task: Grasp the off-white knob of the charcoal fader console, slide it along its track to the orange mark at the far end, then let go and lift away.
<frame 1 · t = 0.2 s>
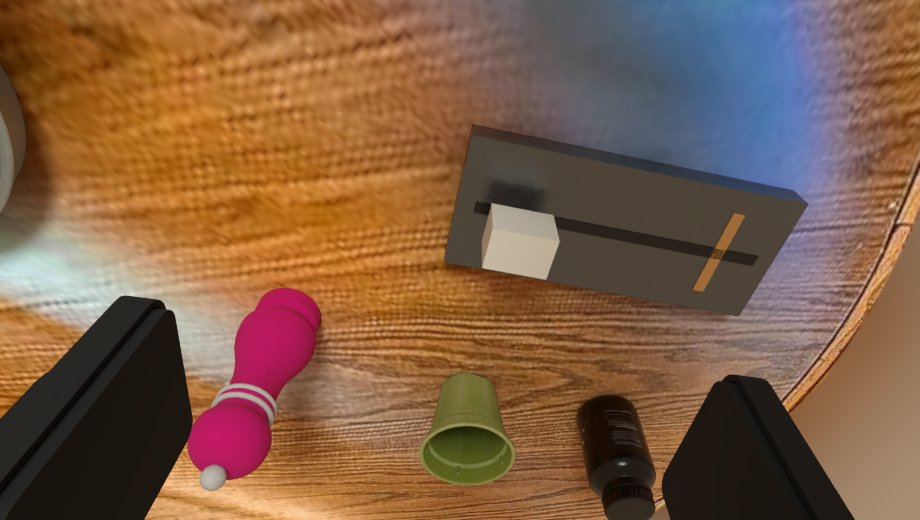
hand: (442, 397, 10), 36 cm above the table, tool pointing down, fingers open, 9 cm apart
fader console: (612, 220, 49), on the table
plant pot: (468, 389, 61), on the table
supplement bottle: (605, 412, 62), on the table
pepper mill: (290, 310, 56), on the table
fader knob: (517, 235, 43), point 6 cm above the table, slide at -9.0 cm
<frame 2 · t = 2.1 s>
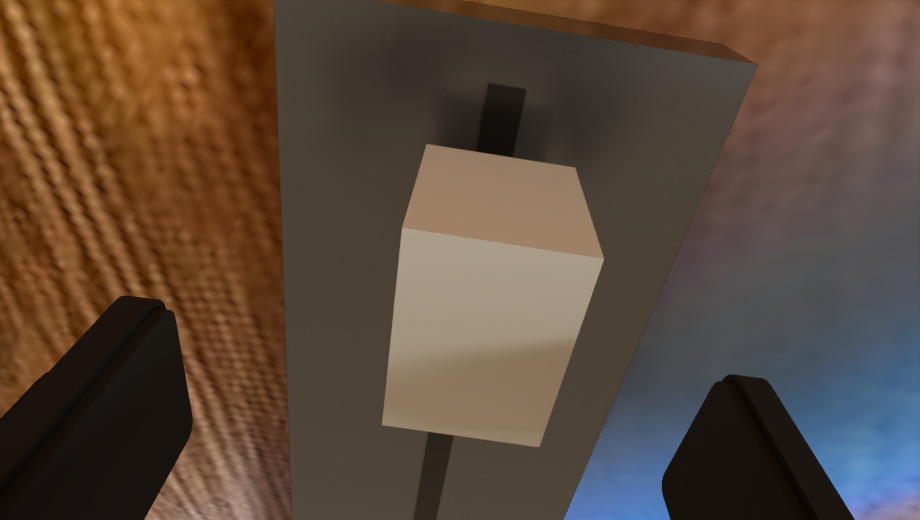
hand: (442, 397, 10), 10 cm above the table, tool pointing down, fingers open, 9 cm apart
fader console: (449, 368, 23), on the table
fader knob: (482, 272, 13), point 6 cm above the table, slide at -9.0 cm
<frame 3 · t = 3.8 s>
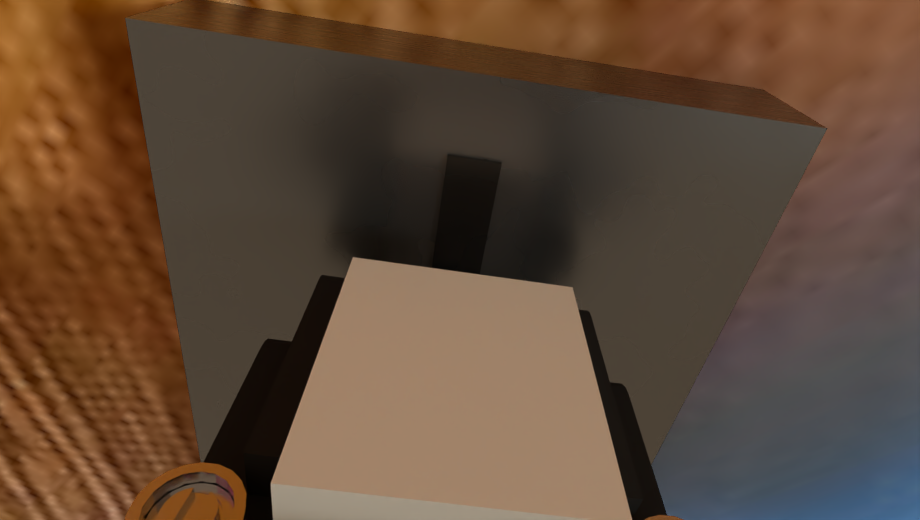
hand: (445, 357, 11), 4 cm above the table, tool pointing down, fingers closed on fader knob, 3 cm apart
fader console: (417, 469, 19), on the table
fader knob: (439, 438, 9), point 6 cm above the table, slide at -9.0 cm, touching gripper
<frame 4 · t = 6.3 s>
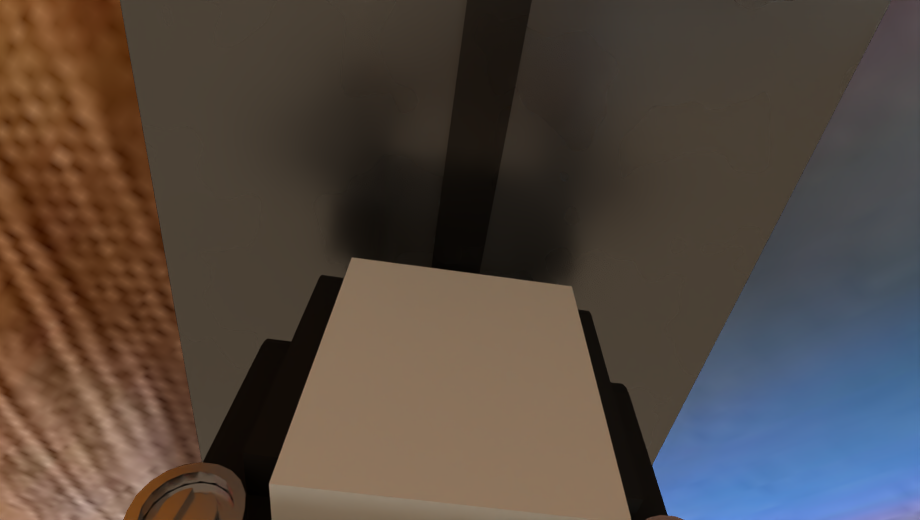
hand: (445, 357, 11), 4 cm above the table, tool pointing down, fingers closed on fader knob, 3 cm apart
fader console: (453, 244, 14), on the table
fader knob: (439, 438, 9), point 6 cm above the table, slide at 0.1 cm, touching gripper
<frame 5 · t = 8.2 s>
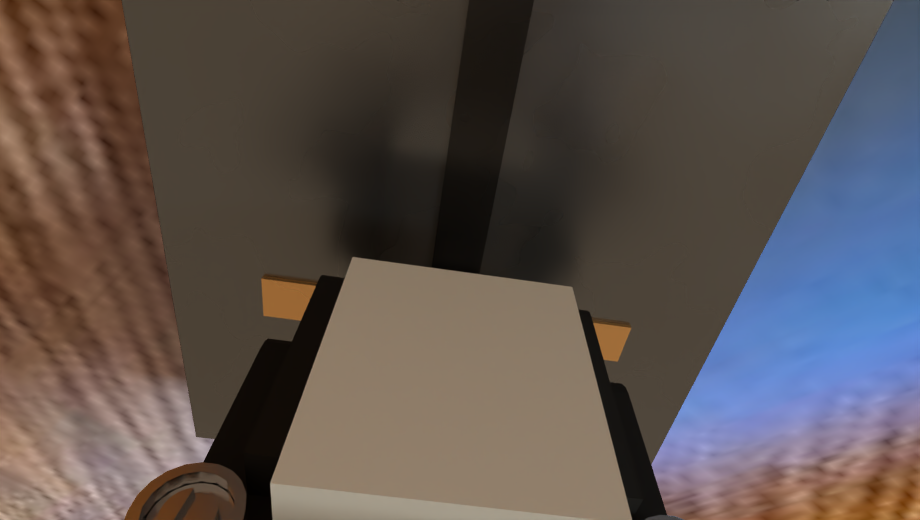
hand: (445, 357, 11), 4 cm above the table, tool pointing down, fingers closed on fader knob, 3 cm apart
fader knob: (439, 438, 9), point 6 cm above the table, slide at 8.7 cm, touching gripper
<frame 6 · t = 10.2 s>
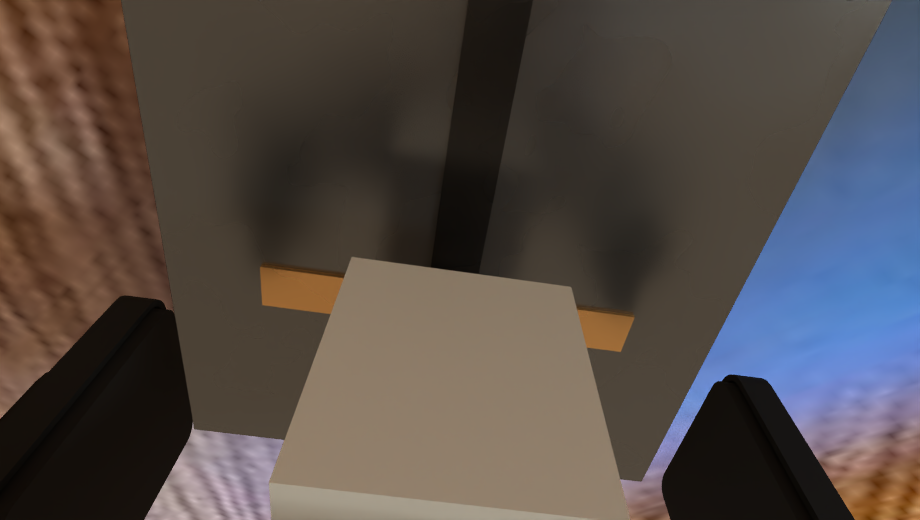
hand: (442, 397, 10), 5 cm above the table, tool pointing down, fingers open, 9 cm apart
fader knob: (438, 438, 9), point 6 cm above the table, slide at 9.0 cm
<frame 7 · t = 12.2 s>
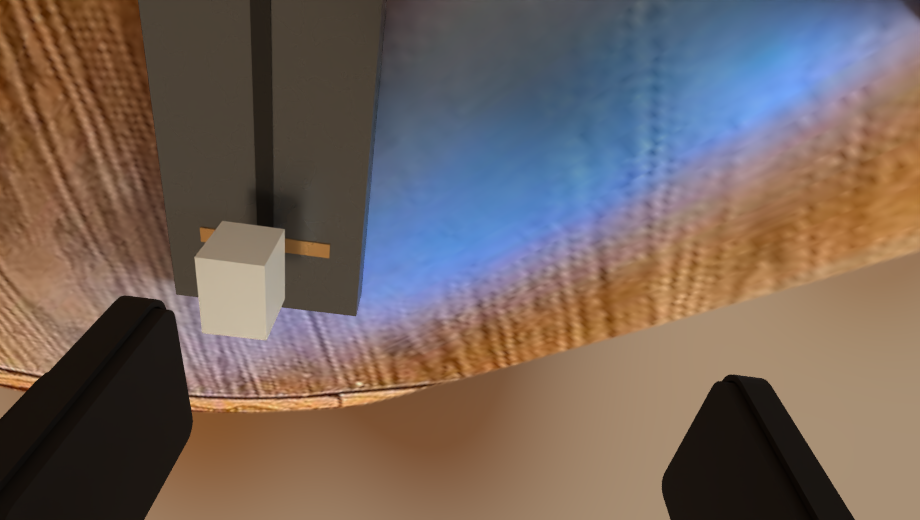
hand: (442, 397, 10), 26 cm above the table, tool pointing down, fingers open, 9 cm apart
fader console: (275, 90, 32), on the table
fader knob: (248, 272, 32), point 6 cm above the table, slide at 9.0 cm
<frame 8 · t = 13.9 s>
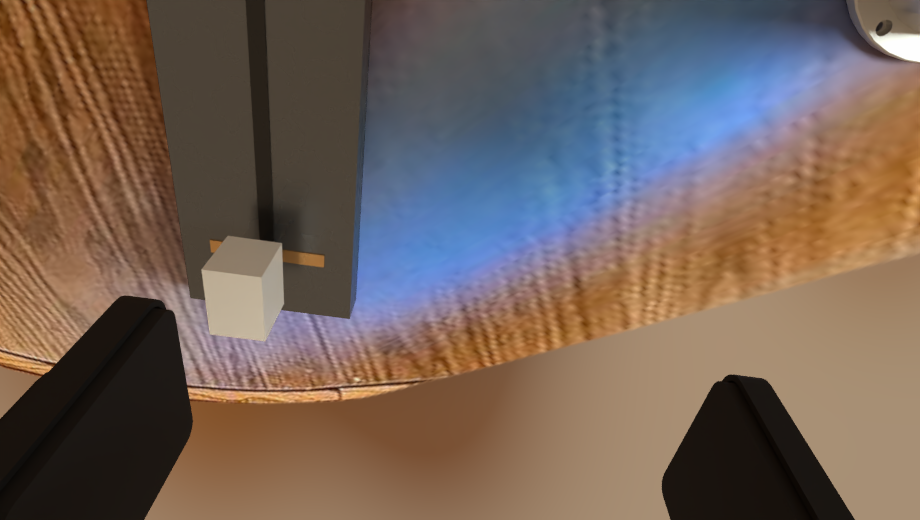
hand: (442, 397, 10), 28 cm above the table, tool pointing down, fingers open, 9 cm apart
fader console: (274, 119, 36), on the table
fader knob: (250, 281, 36), point 6 cm above the table, slide at 9.0 cm
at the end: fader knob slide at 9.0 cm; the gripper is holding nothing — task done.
